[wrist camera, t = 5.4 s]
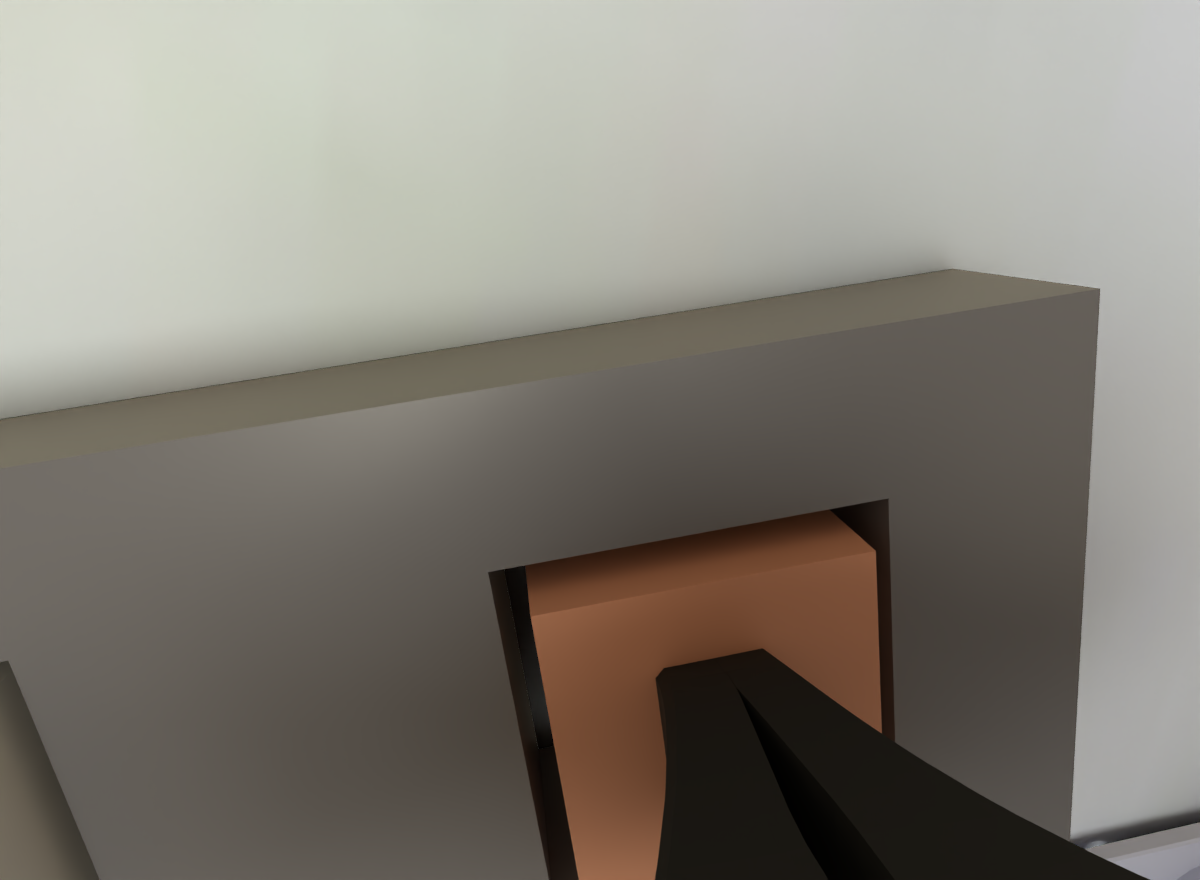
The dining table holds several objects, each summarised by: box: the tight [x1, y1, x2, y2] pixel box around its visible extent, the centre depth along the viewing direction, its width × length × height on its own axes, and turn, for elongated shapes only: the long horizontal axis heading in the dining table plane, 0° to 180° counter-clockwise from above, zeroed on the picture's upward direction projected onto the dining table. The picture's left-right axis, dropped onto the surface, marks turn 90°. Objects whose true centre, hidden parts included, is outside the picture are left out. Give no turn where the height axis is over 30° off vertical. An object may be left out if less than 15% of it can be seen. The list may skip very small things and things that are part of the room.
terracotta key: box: [525, 509, 882, 880], centre depth 11 cm, size 4×4×3 cm
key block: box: [0, 269, 1100, 880], centre depth 11 cm, size 20×9×3 cm, turn 98°
